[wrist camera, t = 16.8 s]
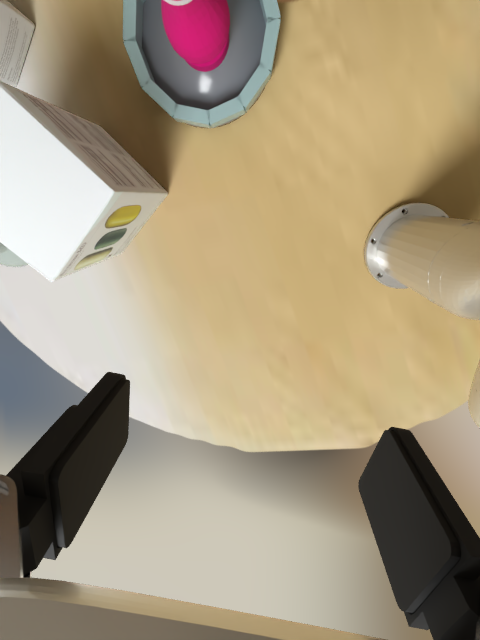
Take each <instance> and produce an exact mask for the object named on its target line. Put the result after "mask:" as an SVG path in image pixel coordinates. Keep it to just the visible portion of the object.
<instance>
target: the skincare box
mask: <svg viewBox="0 0 480 640" xmlns="http://www.w3.org/2000/svg"><path fill="white" fill-rule="evenodd" d="M34 28H35V25H34V23H33V22H32V21H31V20H29V19H28V18H27V17H26V16H25V15H24V14H22V13H21V12H20V11H19V10H18V9H17V8H15V7H14V6H13V5H12V4H11V3H10V2H8V1H7V0H0V81H2V82H4V83H7V84H9V85H12V86H14V87H16V86H17V83H18V80H19V77H20V74H21V70H22V67H23V64H24V61H25V57H26V54H27V51H28V48H29V45H30V41H31V38H32V35H33V32H34Z"/></svg>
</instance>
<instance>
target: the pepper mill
mask: <svg viewBox="0 0 480 640" xmlns="http://www.w3.org/2000/svg"><path fill="white" fill-rule="evenodd" d="M161 11H162V20H163V25H164V29H165V32H166V34H167V37H168V39H169V42H170V43H171V45H172V47H173V49H174V50H175V51H176V52H177V53H178V55H180V56H181V57H182V58H183V59H185V61H186V62H187V63H188V64H189V65H190V66H191V67H192V68H194V69H195V70H198V71H202V72H207V71H211V70H213V69H215V68H217V67H218V66H219V65H220V64H221V63H222V61H223V60H224V58H225V56H226V54H227V51H228V47H229V28H230V13H229V7H228V3H227V0H161Z"/></svg>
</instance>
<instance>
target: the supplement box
mask: <svg viewBox="0 0 480 640" xmlns="http://www.w3.org/2000/svg"><path fill="white" fill-rule="evenodd" d="M167 195H168V192H167V191H166V190H165V189H164V188H163V187H162V186H161V185H160V184H159V183H158V182H157V181H156V180H155V179H154V178H153V177H152V176H151V175H150V174H149V173H148V172H147V171H146V170H145V169H144V168H143V167H142V166H141V165H140V164H139V163H138V162H137V161H135V160H134V159H133V158H132V157H131V156H130V155H129V154H128V153H127V152H126V151H125V150H124V149H123V148H122V147H121V146H120V145H119V144H118V143H117V142H116V141H115V140H114V139H113V138H112V137H111V136H110V135H109V134H108V133H107V132H106V131H105V130H104V129H103V128H102V127H101V126H100V125H97V124H95V123H92V122H90V121H88V120H85V119H83V118H81V117H79V116H77V115H74V114H72V113H70V112H67V111H65V110H63V109H61V108H59V107H57V106H54V105H52V104H50V103H48V102H46V101H43V100H41V99H39V98H36V97H34V96H32V95H30V94H28V93H25V92H23V91H21V90H19V89H17V88H15V87H13V86H10V85H8V84H6V83H4V82H2V81H0V242H1V243H2V244H3V245H4V246H6V247H7V248H8V249H10V250H11V251H12V252H13V253H15V254H16V255H17V256H19V257H20V258H21V259H22V260H24V261H25V262H26V263H27V264H29V265H30V266H31V267H33V268H34V269H35V270H36V271H38V272H39V273H40V274H41V275H43V276H44V277H45V278H47V279H48V280H49V281H50V282H53V281H55V280H58V279H60V278H62V277H65V276H67V275H70V274H72V273H75V272H77V271H80V270H82V269H85V268H87V267H90V266H92V265H95V264H97V263H100V262H102V261H105V260H107V259H110V258H112V257H115V256H117V255H120V254H122V253H123V251H124V250H125V249H126V248H127V246H128V245H129V244H130V243H131V241H132V240H133V239H134V237H135V236H136V235H137V234H138V232H139V231H140V230H141V228H142V227H143V226H144V225H145V223H146V222H147V221H148V219H149V218H150V217H151V216H152V214H153V213H154V212H155V211H156V209H157V208H158V207H159V205H160V204H161V203H162V202H163V200H164V199H165V198H166V196H167Z"/></svg>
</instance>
